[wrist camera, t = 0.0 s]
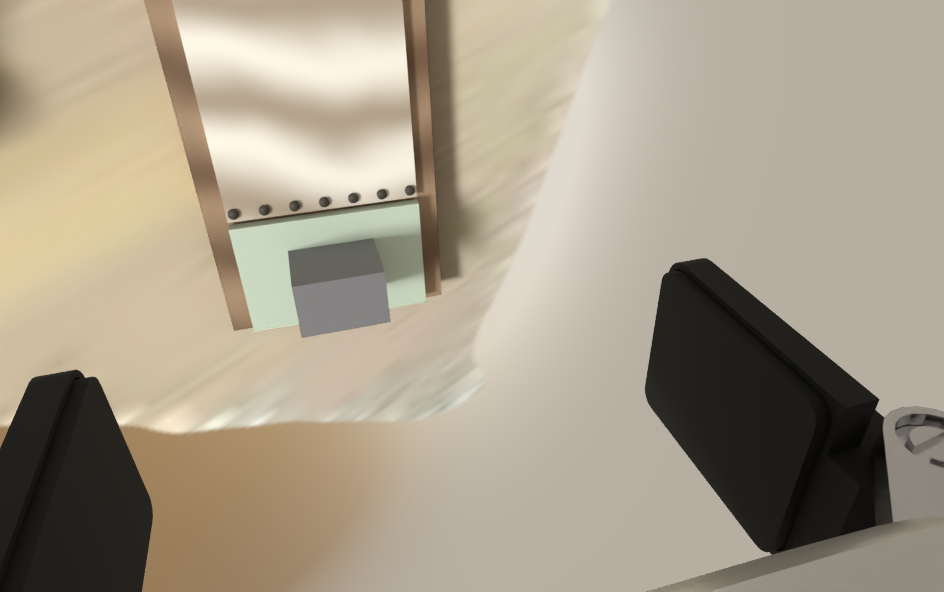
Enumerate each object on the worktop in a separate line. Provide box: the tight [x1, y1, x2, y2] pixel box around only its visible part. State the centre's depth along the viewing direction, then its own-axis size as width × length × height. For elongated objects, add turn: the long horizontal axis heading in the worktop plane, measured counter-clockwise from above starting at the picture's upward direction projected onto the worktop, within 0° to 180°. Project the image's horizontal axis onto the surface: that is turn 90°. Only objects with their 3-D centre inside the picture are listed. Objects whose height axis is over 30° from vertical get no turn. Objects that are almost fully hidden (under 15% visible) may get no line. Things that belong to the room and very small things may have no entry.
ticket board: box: [144, 0, 441, 331], centre depth 45 cm, size 24×16×3 cm, turn 1°
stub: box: [228, 199, 426, 338], centre depth 46 cm, size 8×13×6 cm, turn 91°
